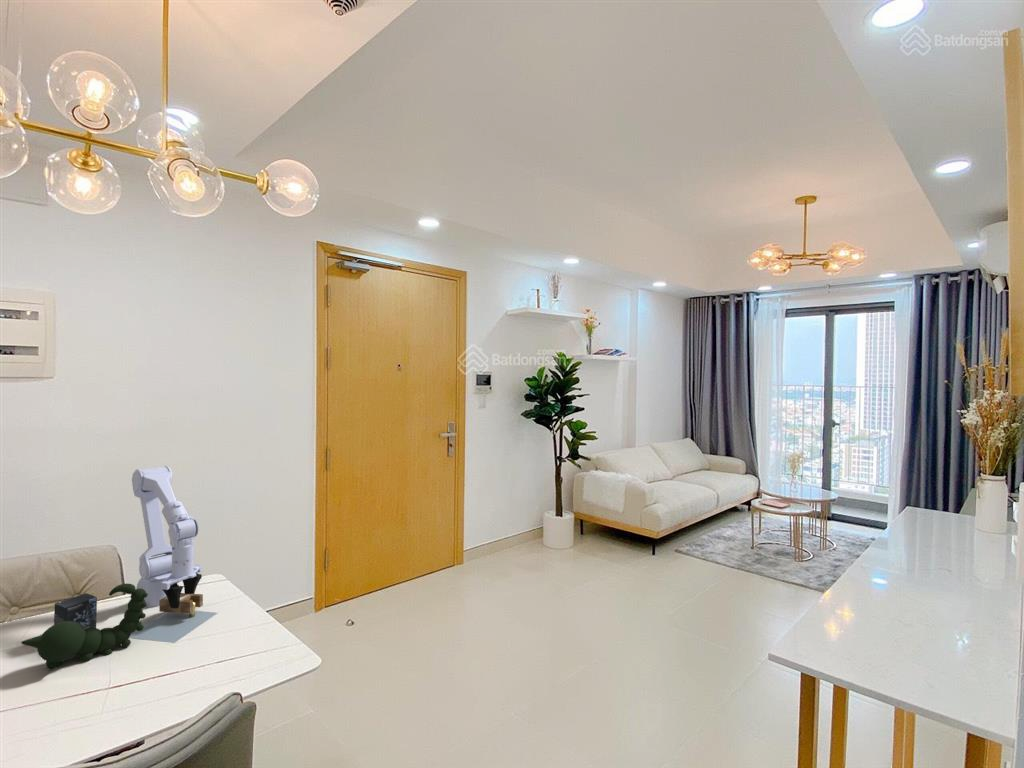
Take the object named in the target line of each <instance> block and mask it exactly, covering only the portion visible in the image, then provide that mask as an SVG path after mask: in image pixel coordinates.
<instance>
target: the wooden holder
mask: <svg viewBox="0 0 1024 768" xmlns="http://www.w3.org/2000/svg"><path fill="white" fill-rule="evenodd" d="M193 602H196V605H195V608H201V607H203V606H204V594H201V593H194V594H189V593H185V592H181V595H180V602H179V607H178V608H171V607H170V604H169V600H168V598H167V596H166V597H164V598H162V599H161V600H159V606H158V608H159V612H161V613H164V612H173V613H189V614H190V613H192V612H193Z"/></svg>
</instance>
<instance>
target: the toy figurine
mask: <svg viewBox="0 0 1024 768" xmlns="http://www.w3.org/2000/svg"><path fill="white" fill-rule="evenodd" d="M136 588H137V587H136V586H135V584H132V583H121V584H118V585H117V586H115V587H114V588H112V589H111V591H109V593H108V595H109V596H113V595H114V594H116V593H124V594H126V595H130V599H129V601H128V602H127V609H126V610H125V612H124V614H123V618H122V619H121V620H120V622H119V623H118V624H117V625H115V626H113V627H106V628H105V627H104V628H102V629H100V628H97V627H96V628H87V629H85V628H84V627H83V626H82V625H81V624H79V623H77V622H73V621H64V622H60V623H57V624H55V625H54V624H53V625H50V627H48V628H47V629H46V630H45V631H43V632H42V633H41V634H40V635H38V636H35V637H31V638H27V639H23V640H22V641H21V643H20V644H22V645H25V646H28V647H30V648H31V647H32V648H34V649H36V650H37V654H38V655H39V657H40V658H41V659H42V660H44V661H45V666H46V669H47V670H50V671H54V670H55V669H57V668H59V667H60V666H61V665H62V664H63V662H64V661H68V660H70V659H71V658H74V657H75V656H77V657H80V661H81V662H83V663H86V662H89V661H91V660H92V659H93V658H94V654H96V653H98V654H102V656H104V657H106V656H109V655H112V654H113V650H114V649H115V648H116V647H117V646H120V645H121V646H122V647H123V648H127V647H129V646H130V645H131V643H132V642H131V638H129V637H130V635H131V633H133V632H134V631H135V630H137V631H141V630H143V628H144V626H143V625H144V624H142V621H141V620H143V619H145V617H146V615H147V614H146V613H145V612H144V610H143V609H144V608H145V607H147V606H146V605H147V603H146V602H145V599H144V598H146V597H147V595H148V594H147V593H146V591H145V590H144V589H141V588H139V589H136Z"/></svg>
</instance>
